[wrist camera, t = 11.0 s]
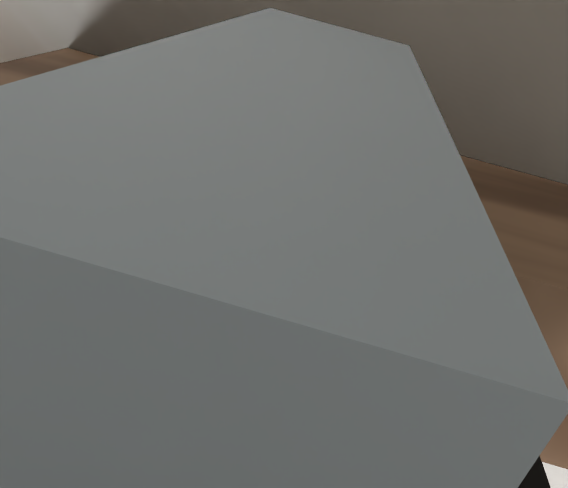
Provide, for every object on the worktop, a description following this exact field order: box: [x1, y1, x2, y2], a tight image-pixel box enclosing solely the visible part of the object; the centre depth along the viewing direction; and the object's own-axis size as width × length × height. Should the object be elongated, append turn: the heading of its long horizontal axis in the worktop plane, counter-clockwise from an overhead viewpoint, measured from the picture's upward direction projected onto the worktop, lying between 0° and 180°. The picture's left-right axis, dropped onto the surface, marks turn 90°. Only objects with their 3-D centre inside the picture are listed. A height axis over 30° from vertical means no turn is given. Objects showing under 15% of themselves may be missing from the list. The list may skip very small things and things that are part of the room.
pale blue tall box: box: [0, 8, 568, 488], centre depth 11 cm, size 12×4×14 cm, turn 167°
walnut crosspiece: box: [0, 48, 568, 469], centre depth 17 cm, size 5×20×9 cm, turn 77°
